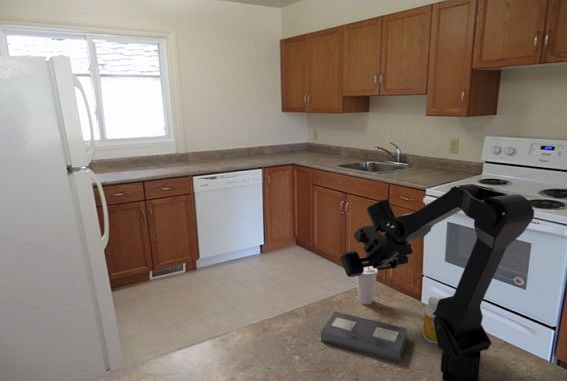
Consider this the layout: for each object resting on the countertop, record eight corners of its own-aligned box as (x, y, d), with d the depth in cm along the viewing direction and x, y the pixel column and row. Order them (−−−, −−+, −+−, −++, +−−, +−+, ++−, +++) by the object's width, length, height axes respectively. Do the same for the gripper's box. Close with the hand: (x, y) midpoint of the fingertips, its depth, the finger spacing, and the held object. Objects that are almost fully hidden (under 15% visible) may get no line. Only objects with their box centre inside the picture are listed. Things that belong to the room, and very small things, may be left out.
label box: (406, 337, 90) (407, 327, 89) (398, 362, 81) (399, 350, 80) (334, 320, 98) (335, 310, 97) (320, 340, 89) (320, 330, 88)
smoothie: (374, 308, 103) (376, 260, 100) (351, 304, 106) (352, 257, 103) (378, 298, 109) (380, 252, 106) (356, 294, 111) (357, 249, 109)
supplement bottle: (422, 329, 93) (425, 293, 91) (446, 333, 91) (449, 296, 89) (423, 342, 88) (425, 303, 86) (448, 346, 86) (451, 307, 84)
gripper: (403, 215, 102) (377, 241, 114) (344, 223, 95) (323, 251, 107) (422, 252, 97) (392, 275, 109) (361, 264, 89) (337, 288, 102)
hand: (361, 271), depth 107 cm, fingers open, 9 cm apart
